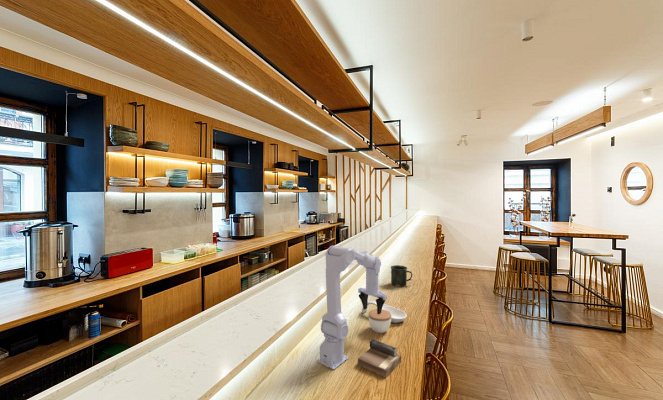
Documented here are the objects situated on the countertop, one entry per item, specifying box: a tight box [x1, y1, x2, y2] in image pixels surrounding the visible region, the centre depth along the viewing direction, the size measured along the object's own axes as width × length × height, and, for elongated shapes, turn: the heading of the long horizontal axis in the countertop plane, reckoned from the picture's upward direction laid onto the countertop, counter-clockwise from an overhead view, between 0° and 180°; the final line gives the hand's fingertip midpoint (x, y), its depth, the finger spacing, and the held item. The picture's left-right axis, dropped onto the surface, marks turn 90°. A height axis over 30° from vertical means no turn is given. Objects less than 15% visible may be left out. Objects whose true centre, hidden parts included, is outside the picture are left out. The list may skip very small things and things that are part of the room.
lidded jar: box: [367, 308, 392, 334], centre depth 137 cm, size 11×11×9 cm
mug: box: [390, 264, 413, 288], centre depth 200 cm, size 11×15×12 cm
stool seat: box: [357, 347, 402, 378], centre depth 111 cm, size 12×12×3 cm
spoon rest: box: [361, 300, 408, 324], centre depth 150 cm, size 24×12×7 cm, turn 57°
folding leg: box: [369, 338, 398, 357], centre depth 114 cm, size 11×2×2 cm, turn 51°
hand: (372, 311), depth 134 cm, fingers open, 7 cm apart
